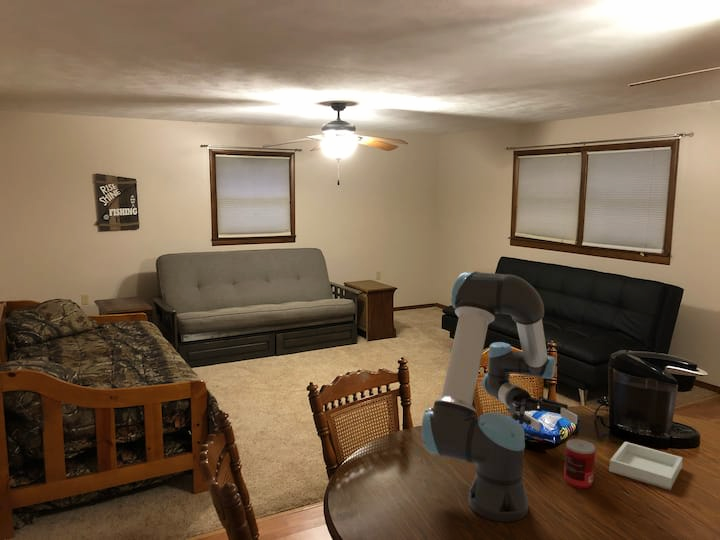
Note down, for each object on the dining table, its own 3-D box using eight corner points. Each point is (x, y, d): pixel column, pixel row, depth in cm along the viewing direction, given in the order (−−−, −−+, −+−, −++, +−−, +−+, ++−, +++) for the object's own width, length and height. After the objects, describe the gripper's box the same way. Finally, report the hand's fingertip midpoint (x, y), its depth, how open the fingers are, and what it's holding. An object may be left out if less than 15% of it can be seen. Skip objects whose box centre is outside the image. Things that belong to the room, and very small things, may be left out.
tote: (670, 490, 152) (671, 478, 151) (609, 471, 162) (610, 460, 161) (681, 468, 164) (682, 457, 163) (624, 451, 174) (624, 441, 173)
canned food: (587, 475, 159) (590, 439, 158) (596, 490, 151) (599, 452, 150) (560, 473, 160) (562, 438, 158) (568, 488, 152) (570, 451, 151)
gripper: (545, 402, 188) (590, 428, 168) (482, 413, 180) (522, 441, 160) (546, 382, 187) (592, 405, 167) (483, 391, 178) (523, 417, 159)
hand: (558, 423), depth 164 cm, fingers open, 13 cm apart
